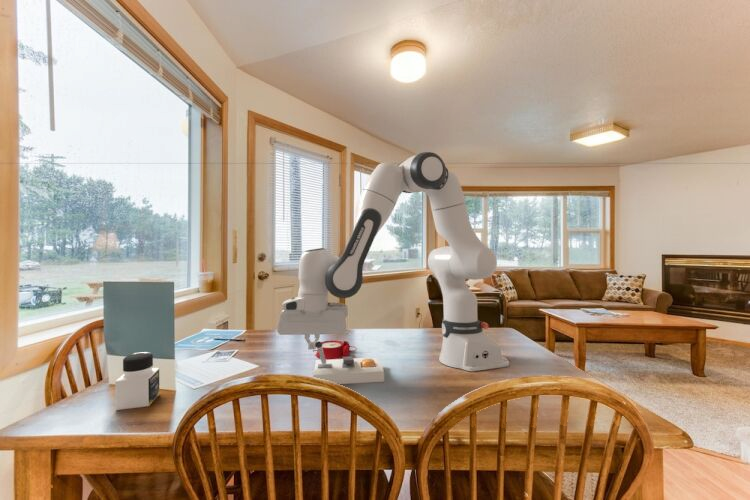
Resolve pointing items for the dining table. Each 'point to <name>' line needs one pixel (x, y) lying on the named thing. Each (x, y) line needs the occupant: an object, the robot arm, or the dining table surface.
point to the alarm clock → (335, 349)
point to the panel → (349, 371)
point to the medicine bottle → (137, 382)
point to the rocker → (348, 360)
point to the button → (367, 363)
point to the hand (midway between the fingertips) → (312, 348)
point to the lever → (321, 352)
